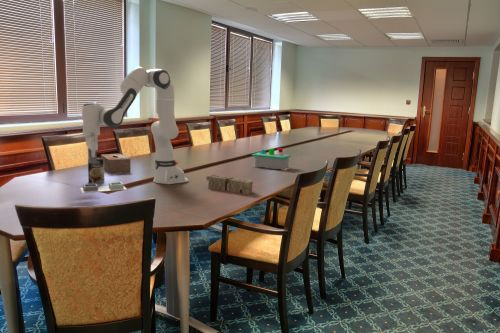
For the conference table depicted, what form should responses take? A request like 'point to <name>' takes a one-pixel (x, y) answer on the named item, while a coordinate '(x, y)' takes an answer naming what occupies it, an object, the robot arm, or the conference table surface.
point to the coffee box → (96, 171)
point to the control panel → (271, 159)
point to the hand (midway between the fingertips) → (92, 156)
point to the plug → (92, 159)
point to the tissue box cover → (116, 163)
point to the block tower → (230, 184)
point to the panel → (102, 187)
